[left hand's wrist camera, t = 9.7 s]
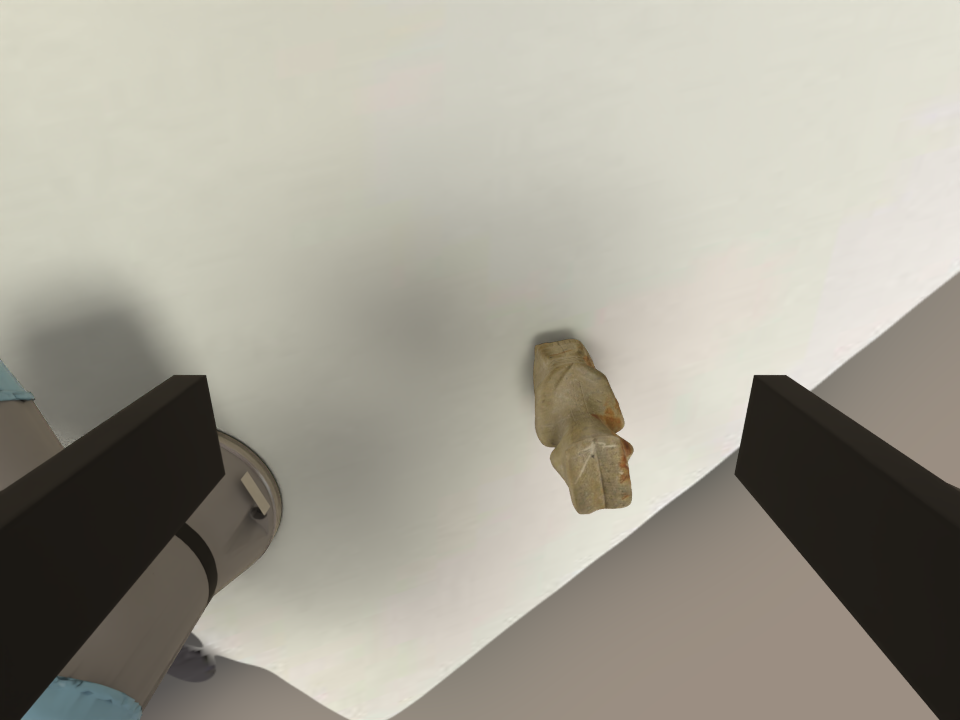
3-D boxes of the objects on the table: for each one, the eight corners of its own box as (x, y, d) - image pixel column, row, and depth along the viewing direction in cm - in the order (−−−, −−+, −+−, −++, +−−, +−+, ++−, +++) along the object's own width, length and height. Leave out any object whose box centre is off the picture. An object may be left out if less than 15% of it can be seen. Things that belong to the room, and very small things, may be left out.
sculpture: (528, 414, 44) (551, 529, 30) (519, 334, 42) (540, 418, 28) (596, 406, 44) (652, 518, 30) (592, 325, 41) (649, 405, 27)
